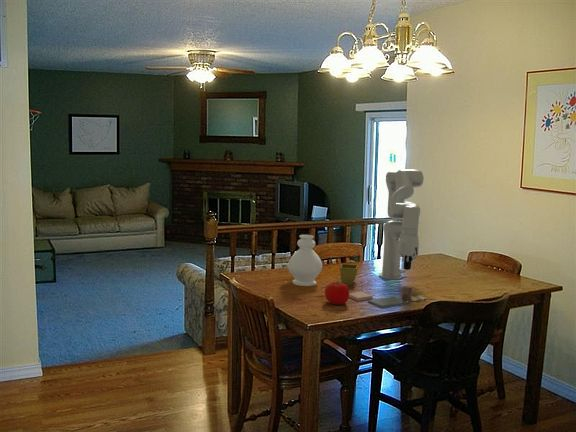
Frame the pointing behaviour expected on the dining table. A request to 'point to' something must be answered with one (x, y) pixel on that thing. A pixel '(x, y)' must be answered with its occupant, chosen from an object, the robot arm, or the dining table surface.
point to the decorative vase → (305, 262)
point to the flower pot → (348, 273)
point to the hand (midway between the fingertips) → (407, 269)
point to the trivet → (387, 302)
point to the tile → (360, 296)
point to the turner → (408, 292)
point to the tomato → (337, 293)
